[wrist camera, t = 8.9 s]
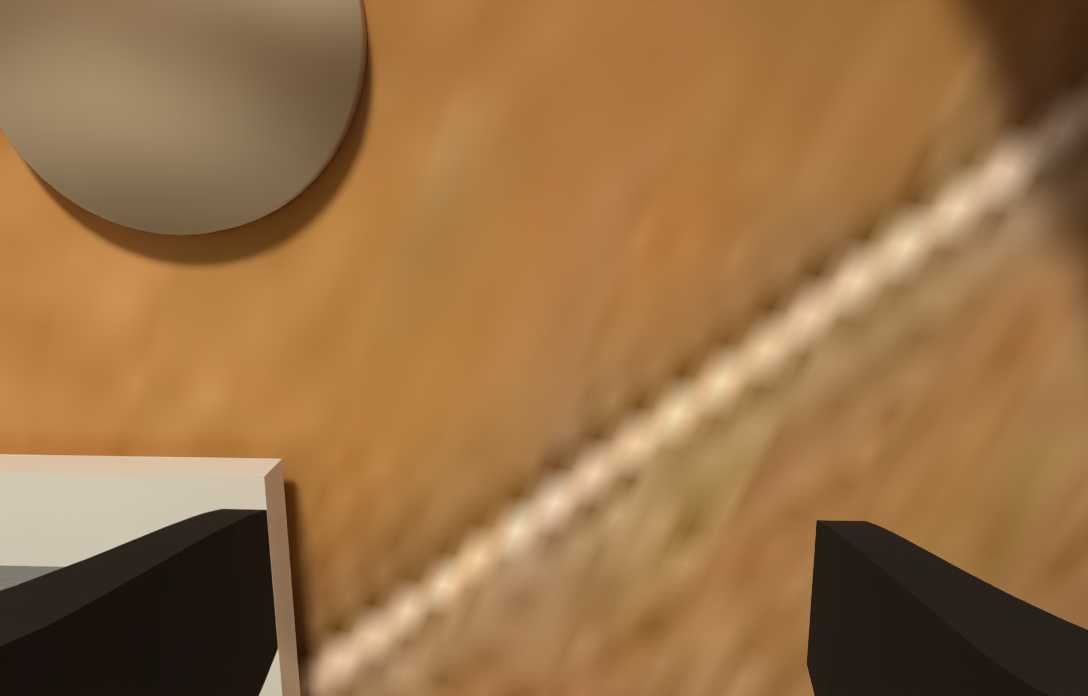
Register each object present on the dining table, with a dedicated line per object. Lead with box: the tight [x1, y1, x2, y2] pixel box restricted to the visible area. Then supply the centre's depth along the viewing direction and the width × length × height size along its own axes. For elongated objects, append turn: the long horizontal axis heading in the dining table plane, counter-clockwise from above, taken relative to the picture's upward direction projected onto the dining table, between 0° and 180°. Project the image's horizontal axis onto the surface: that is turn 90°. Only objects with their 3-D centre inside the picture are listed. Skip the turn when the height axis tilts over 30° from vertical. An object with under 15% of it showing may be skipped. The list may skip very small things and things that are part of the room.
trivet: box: [0, 454, 300, 696], centre depth 23 cm, size 12×12×2 cm
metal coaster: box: [0, 0, 367, 235], centre depth 20 cm, size 9×9×1 cm
